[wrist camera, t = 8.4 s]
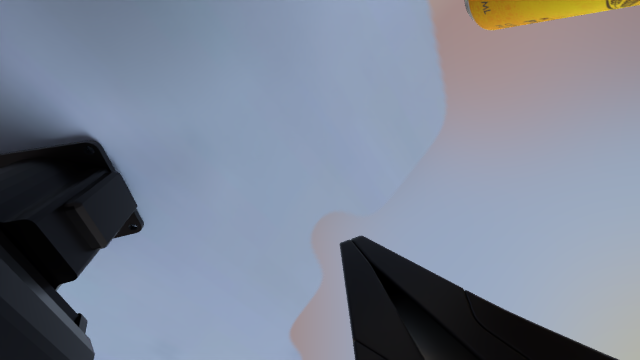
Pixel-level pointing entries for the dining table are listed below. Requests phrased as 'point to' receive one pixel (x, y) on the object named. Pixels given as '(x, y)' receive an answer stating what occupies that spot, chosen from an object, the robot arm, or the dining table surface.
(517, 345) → the robot arm
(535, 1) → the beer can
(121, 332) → the dining table surface
